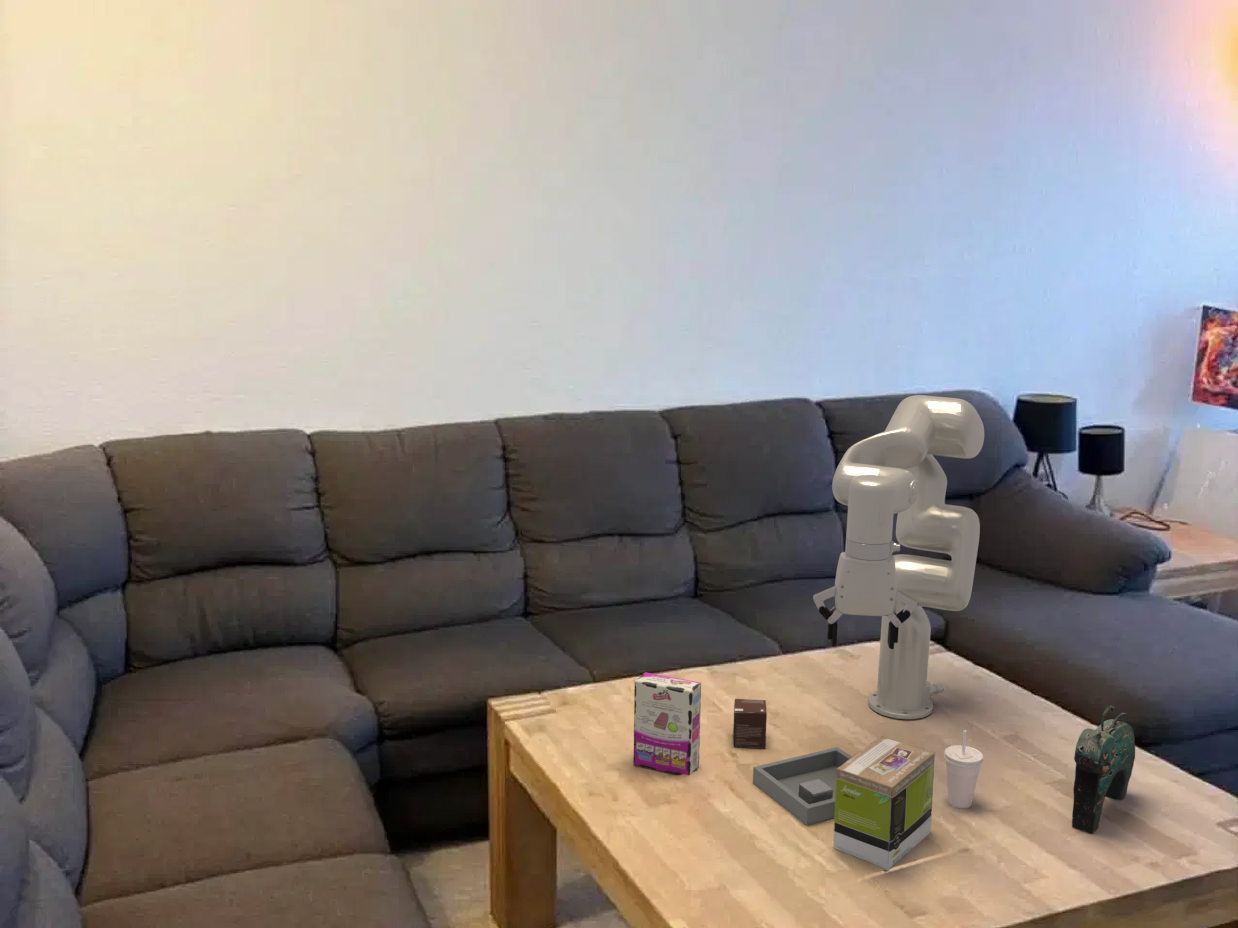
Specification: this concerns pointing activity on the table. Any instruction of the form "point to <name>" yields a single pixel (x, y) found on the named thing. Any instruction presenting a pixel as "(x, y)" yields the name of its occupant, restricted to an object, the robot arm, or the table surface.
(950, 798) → the smoothie
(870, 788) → the tea box
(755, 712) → the box
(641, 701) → the candy bar box
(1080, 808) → the green animal figurine
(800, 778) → the tray
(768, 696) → the table surface
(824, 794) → the metal block
